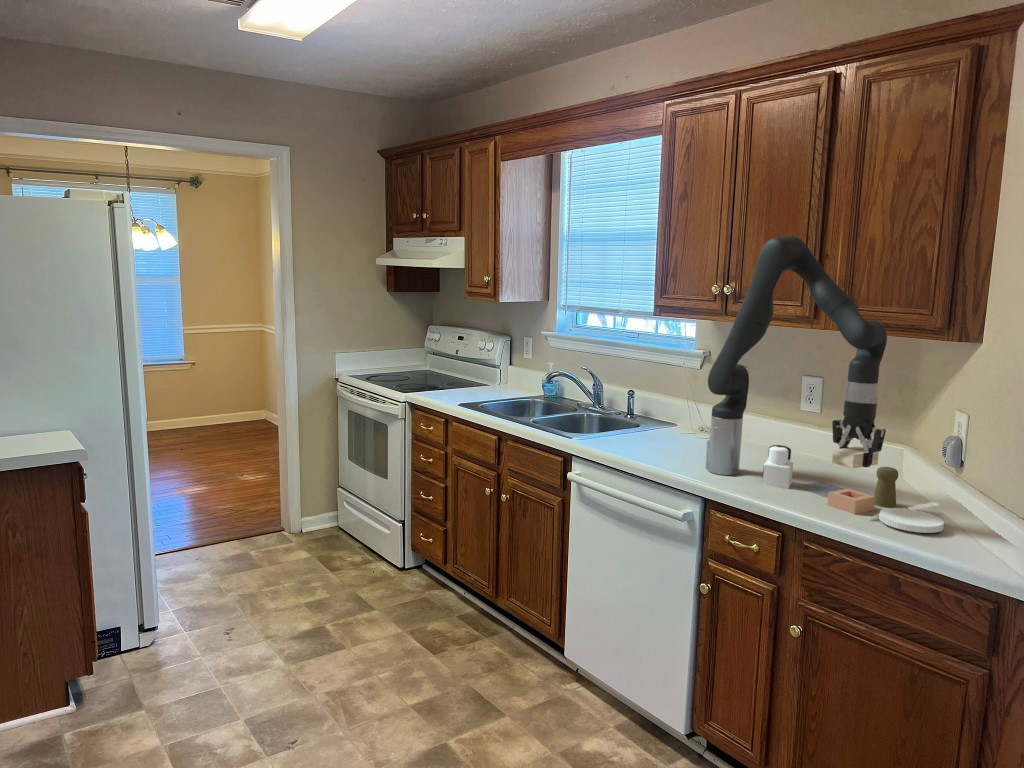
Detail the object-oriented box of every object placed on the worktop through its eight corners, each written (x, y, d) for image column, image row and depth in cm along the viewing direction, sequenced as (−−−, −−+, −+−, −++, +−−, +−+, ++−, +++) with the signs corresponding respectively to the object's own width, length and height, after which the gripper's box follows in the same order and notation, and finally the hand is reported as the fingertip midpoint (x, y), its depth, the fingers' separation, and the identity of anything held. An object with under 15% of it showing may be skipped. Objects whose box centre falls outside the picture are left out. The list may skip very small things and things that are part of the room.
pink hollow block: (826, 508, 196) (828, 492, 195) (846, 504, 200) (848, 488, 199) (853, 517, 189) (855, 500, 188) (873, 513, 193) (875, 496, 192)
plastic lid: (882, 532, 180) (883, 521, 179) (875, 514, 193) (876, 505, 193) (948, 540, 175) (949, 529, 175) (936, 522, 188) (937, 512, 188)
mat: (792, 489, 212) (793, 486, 212) (821, 484, 218) (821, 481, 218) (828, 501, 202) (829, 498, 202) (857, 496, 208) (857, 492, 208)
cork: (888, 504, 201) (893, 464, 199) (901, 511, 195) (905, 470, 193) (866, 504, 201) (870, 464, 199) (878, 511, 195) (882, 470, 193)
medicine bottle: (765, 482, 220) (769, 442, 218) (791, 486, 216) (795, 445, 215) (761, 488, 213) (765, 447, 212) (788, 492, 210) (791, 450, 208)
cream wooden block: (831, 463, 192) (833, 449, 192) (856, 459, 197) (858, 446, 197) (852, 468, 187) (853, 454, 187) (877, 464, 192) (878, 451, 192)
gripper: (826, 396, 194) (821, 459, 197) (877, 405, 182) (870, 472, 184) (845, 394, 198) (840, 456, 200) (896, 403, 185) (889, 469, 188)
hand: (854, 463), depth 192 cm, fingers closed on cream wooden block, 6 cm apart
